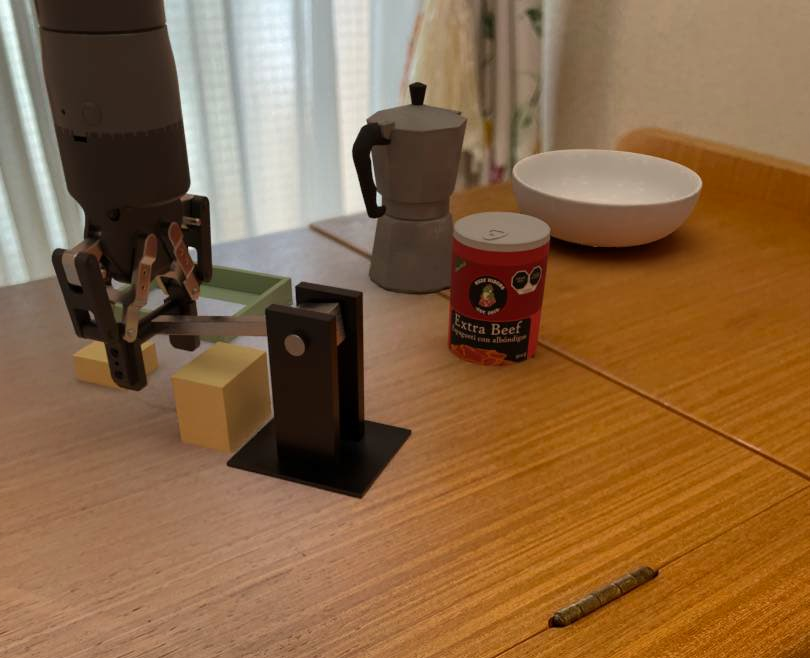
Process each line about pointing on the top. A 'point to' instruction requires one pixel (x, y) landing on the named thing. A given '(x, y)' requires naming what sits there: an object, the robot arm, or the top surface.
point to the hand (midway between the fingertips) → (159, 366)
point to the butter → (222, 396)
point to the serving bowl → (605, 195)
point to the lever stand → (319, 400)
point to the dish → (234, 293)
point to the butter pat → (96, 366)
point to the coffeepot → (410, 191)
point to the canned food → (497, 287)
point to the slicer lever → (218, 322)
